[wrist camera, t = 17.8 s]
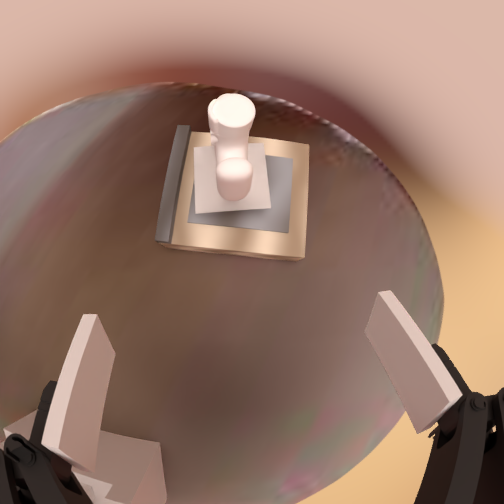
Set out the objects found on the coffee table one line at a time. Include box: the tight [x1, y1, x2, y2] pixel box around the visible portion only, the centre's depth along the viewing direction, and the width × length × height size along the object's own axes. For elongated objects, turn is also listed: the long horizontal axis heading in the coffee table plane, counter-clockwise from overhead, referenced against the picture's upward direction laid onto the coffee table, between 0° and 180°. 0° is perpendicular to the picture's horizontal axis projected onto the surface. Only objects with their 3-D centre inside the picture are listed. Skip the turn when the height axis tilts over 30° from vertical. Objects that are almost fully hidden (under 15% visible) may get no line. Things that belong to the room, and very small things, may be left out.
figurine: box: [194, 94, 271, 214], centre depth 23 cm, size 7×9×15 cm
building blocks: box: [0, 409, 167, 504], centre depth 16 cm, size 22×12×25 cm, turn 88°
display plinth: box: [155, 125, 309, 261], centre depth 32 cm, size 16×14×6 cm
